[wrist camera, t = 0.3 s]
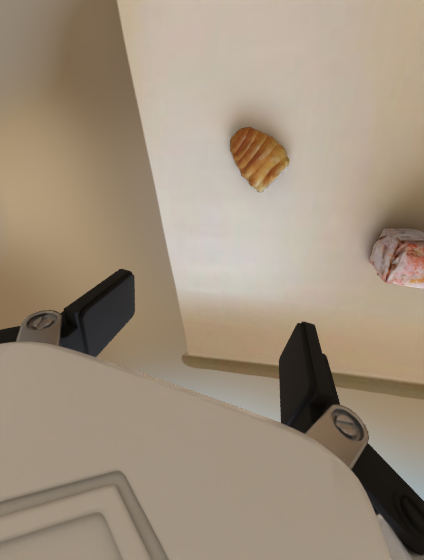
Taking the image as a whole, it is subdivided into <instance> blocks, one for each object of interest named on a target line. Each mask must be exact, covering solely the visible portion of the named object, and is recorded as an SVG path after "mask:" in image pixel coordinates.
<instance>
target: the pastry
mask: <svg viewBox="0 0 424 560" xmlns="http://www.w3.org/2000/svg"><path fill="white" fill-rule="evenodd" d="M230 151H231V153H232V155H233V159H234V161H235V164H236V165H237V167H238V168H239V169H240V172H241V176H243V177H244V178H246V179H247V180H248V182H249V184H250V185H251V186H252V187H254V188H256V190H257V191H258V192H263V191H264V190H266V189H267V188H268V186H269V185H270V184H271V183H272V182H273V181H274V180H275V179H276V178H277V177H278V176H279V175H281V174H282V173H283V172H284V171H285V170H286V169H287V168H288V166H289V158H288V157H287V154H286V151H285V149H284V148H283V146H281V145H280V144H278V142H276V141H275V139H274V138H273V137H270V136H269V135H267V134H264V133H262V132H260V131H258V130H255V129H253V128H251V127H246V128H242V129H239V130H238V131H237V132H236V133H235V135H234V136H232V138H231V140H230Z"/></svg>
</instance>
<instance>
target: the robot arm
mask: <svg viewBox="0 0 424 560" xmlns="http://www.w3.org/2000/svg"><path fill="white" fill-rule="evenodd" d="M134 290H135V289H134V275H133V274H132V272H131V271H127V270H124V269H119V270H118V271H117V272H115V273H114V274H112V275H111V276H110V277H108V278H107V279H105V280H104V281H102V282H101V283H100V284H98V285H97V286H96V287H94V288H93V289H91V290H90V291H88V292H87V293H86V294H84V295H83V296H82V297H80V298H79V299H77V300H76V301H74V302H73V303H71V304H70V305H69V306H67V307H66V308H64V311H63V312H62V313H59V312H57V311H52V310H44V311H39V312H36V313H33V314H31V315H29V316H28V317H26V318H25V319H24V321H23V322H22V324H21V326H17V327H13V328H7V329H2V330H0V560H424V501H423V500H422V499H421V498H420V497H419V496H418V495H417V494H416V493H415V492H414V491H413V489H412V488H411V487H410V486H409V485H408V484H407V483H406V482H405V481H404V480H403V479H402V478H401V477H400V476H399V475H398V474H397V473H396V472H395V471H394V470H393V469H392V468H391V467H390V466H389V465H388V464H387V462H386V461H385V460H384V459H383V458H382V457H381V456H380V455H379V454H378V453H377V452H376V451H375V450H374V449H373V448H372V447H371V446H370V445H369V444H368V440H369V435H368V431H367V428H366V426H365V424H364V423H363V421H362V420H361V419H360V418H359V417H358V416H357V414H355V413H354V412H353V411H352V410H350V409H349V408H347V407H345V406H342V405H340V402H339V399H338V395H337V392H336V388H335V385H334V381H333V377H332V374H331V370H330V367H329V363H328V360H327V357H326V355H325V354H322V351H321V347H320V343H319V339H318V336H317V332H316V328H315V325H314V324H310V323H307V322H302V323H301V324H300V323H298V324H297V325H296V327H295V329H294V331H293V333H292V335H291V337H290V339H289V341H288V343H287V344H286V346H285V348H284V350H283V352H282V354H281V356H280V359H279V379H280V407H281V423H280V422H277V421H274V420H272V419H269V418H266V417H264V416H261V415H258V414H256V413H253V412H250V411H248V410H245V409H242V408H239V407H237V406H234V405H231V404H228V403H225V402H222V401H220V400H217V399H214V398H211V397H208V396H206V395H203V394H200V393H197V392H194V391H192V390H189V389H186V388H183V387H180V386H177V385H174V384H172V383H169V382H166V381H163V380H160V379H157V378H154V377H151V376H149V375H146V374H143V373H140V372H137V371H134V370H131V369H128V368H125V367H122V366H120V365H117V364H114V363H111V362H108V361H105V360H102V359H99V358H96V356H97V355H98V354H99V353H100V352H101V351H102V350H103V349H104V348H105V347H106V346H107V344H108V343H109V342H110V341H111V340H112V339H113V338H114V337H115V336H116V334H117V333H118V332H119V331H120V330H121V329H122V328H123V327H124V326H125V324H126V323H127V322H128V321H129V320H130V319H131V318H132V317H133V315H134V312H135V294H134V293H135V291H134Z"/></svg>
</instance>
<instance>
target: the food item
mask: <svg viewBox="0 0 424 560" xmlns="http://www.w3.org/2000/svg"><path fill="white" fill-rule="evenodd" d="M369 262H370V263H371V264H372V265H373V266H374V268H375V270H376V271H377V275H380V277H381V279H382V280H383V281H385V282H386V283H393V284H398V285H404V286H409V287H415V288H422V289H424V231H420V230H415V229H408V228H405V229H395V228H389V229H383V232H382V234H381V236H379V238H378V240H377V242H376V243H375V244H374V246H373V250H372V254H371V256H370V260H369Z"/></svg>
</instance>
